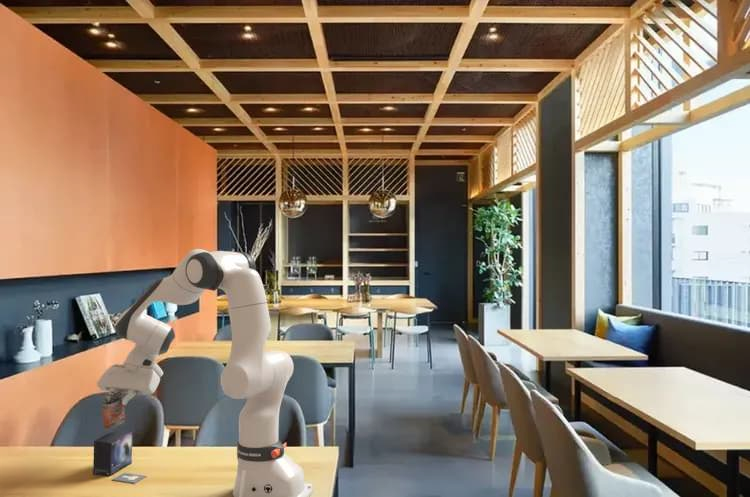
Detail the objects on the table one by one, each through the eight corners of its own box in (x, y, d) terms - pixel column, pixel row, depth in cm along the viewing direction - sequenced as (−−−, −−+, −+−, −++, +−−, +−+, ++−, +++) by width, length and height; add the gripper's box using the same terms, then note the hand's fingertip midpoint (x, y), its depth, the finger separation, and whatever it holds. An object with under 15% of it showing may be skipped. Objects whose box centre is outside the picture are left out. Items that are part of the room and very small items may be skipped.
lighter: (108, 430, 164) (107, 398, 164) (99, 428, 165) (98, 397, 165) (128, 420, 172) (127, 389, 171) (119, 419, 173) (118, 388, 172)
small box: (110, 477, 162) (111, 442, 162) (91, 475, 164) (92, 440, 164) (133, 463, 173) (133, 430, 173) (115, 461, 174) (115, 429, 174)
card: (146, 476, 162) (146, 475, 162) (134, 483, 158) (134, 482, 158) (124, 473, 165) (124, 472, 165) (112, 480, 160) (112, 479, 160)
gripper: (106, 358, 179) (83, 395, 170) (159, 362, 174) (137, 401, 164) (116, 369, 184) (94, 405, 174) (167, 373, 178) (147, 411, 169)
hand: (115, 403), depth 169 cm, fingers closed on lighter, 3 cm apart
